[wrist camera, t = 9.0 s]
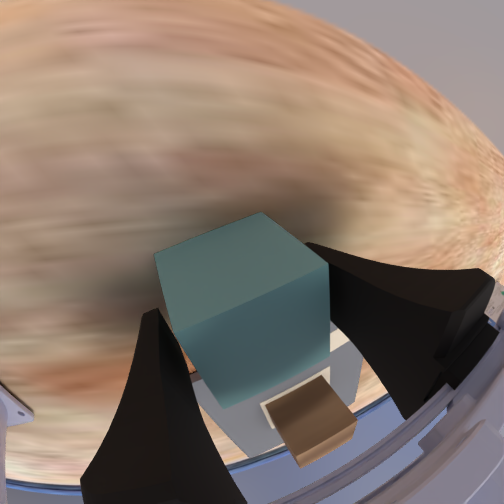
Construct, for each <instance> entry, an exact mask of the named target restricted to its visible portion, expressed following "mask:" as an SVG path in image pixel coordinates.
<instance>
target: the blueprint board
mask: <svg viewBox="0 0 504 504" xmlns="http://www.w3.org/2000/svg"><path fill="white" fill-rule="evenodd" d="M362 361H363V356H362V354H361V353H360V352H359V351H358V349H357V348H356V347H355V345H354V344H353V343H352V342H351V341H350V340H349V339H348V338H347V337H346V336H345V335H344V334H343V333H342V332H341V331H340V330H339V329H338V328H337V327H336V326H335V325H334V324H333V323H332V322H331V321H330V356H329V357H328V358H326V359H324V360H323V361H321V362H319V363H317V364H316V365H314V366H312V367H310V368H308V369H307V370H305V371H303V372H301V373H299V374H297V375H295V376H294V377H292V378H290V379H288V380H286V381H284V382H282V383H280V384H278V385H276V386H274V387H272V388H270V389H268V390H266V391H264V392H262V393H260V394H257V395H255V396H253V397H251V398H249V399H247V400H244V401H242V402H240V403H238V404H235V405H233V406H231V407H228V408H226V409H224V410H223V408H222V407H221V406H220V404H219V403H218V401H217V400H216V398H215V397H214V396H213V394H212V393H211V391H210V390H209V388H208V387H207V385H206V384H205V382H204V381H203V379H202V378H201V376H200V375H199V373H198V372H195V373H193V374H190V378H191V382H192V385H193V389H194V392H195V396H196V399H197V402H198V403H199V405H200V406H201V407H202V408H203V409H204V410H205V412H206V413H207V414H208V415H209V416H210V417H211V418H212V419H213V421H214V422H215V423H216V424H217V425H218V426H219V427H220V428H221V429H222V430H223V431H224V433H225V434H226V435H227V436H228V437H229V438H230V439H231V440H232V441H233V442H234V443H235V444H236V445H237V446H238V447H239V448H240V449H241V450H242V451H243V452H244V453H245V454H246V455H247V456H248V457H249V458H252V457H254V456H256V455H259V454H261V453H263V452H265V451H267V450H270V449H272V448H274V447H276V446H278V445H280V444H282V443H284V441H283V440H282V438H281V436H280V435H279V433H278V431H277V430H276V428H275V426H274V424H273V422H272V420H271V418H270V416H269V413H268V411H267V409H266V407H265V405H266V404H268V403H270V402H272V401H274V400H276V399H278V398H280V397H282V396H284V395H286V394H288V393H289V392H291V391H293V390H295V389H297V388H299V387H301V386H302V385H304V384H306V383H308V382H310V381H311V380H313V379H315V378H317V377H318V376H320V375H322V376H323V377H324V378H325V380H326V381H327V382H328V383H329V385H330V386H331V387H332V388H333V390H334V391H335V392H336V394H337V395H338V396H339V397H340V399H341V400H342V401H343V402H344V404H345V405H346V406H349V405H350V404H352V403H354V402H355V397H356V392H357V388H358V383H359V377H360V372H361V367H362Z"/></svg>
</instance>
